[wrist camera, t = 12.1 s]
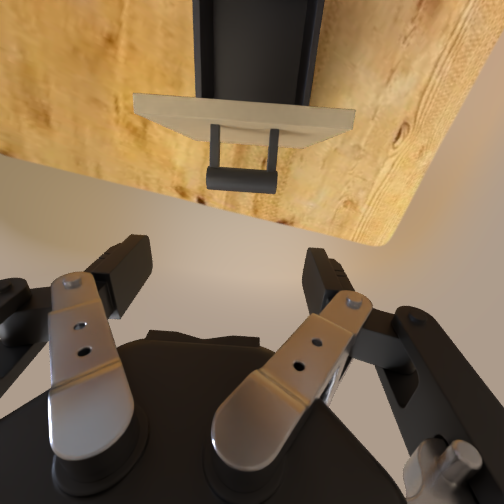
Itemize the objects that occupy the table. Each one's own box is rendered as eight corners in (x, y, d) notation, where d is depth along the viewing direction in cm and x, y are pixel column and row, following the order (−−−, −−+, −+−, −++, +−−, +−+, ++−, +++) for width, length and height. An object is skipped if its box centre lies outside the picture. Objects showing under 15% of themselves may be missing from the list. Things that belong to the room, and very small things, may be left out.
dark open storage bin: (208, -13, 35) (190, -56, 26) (313, -5, 36) (331, -44, 27) (209, 130, 44) (196, 135, 35) (294, 137, 44) (303, 143, 35)
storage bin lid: (132, 92, 17) (138, 187, 19) (356, 109, 17) (340, 202, 19) (195, 131, 34) (195, 177, 36) (304, 139, 34) (298, 185, 36)
